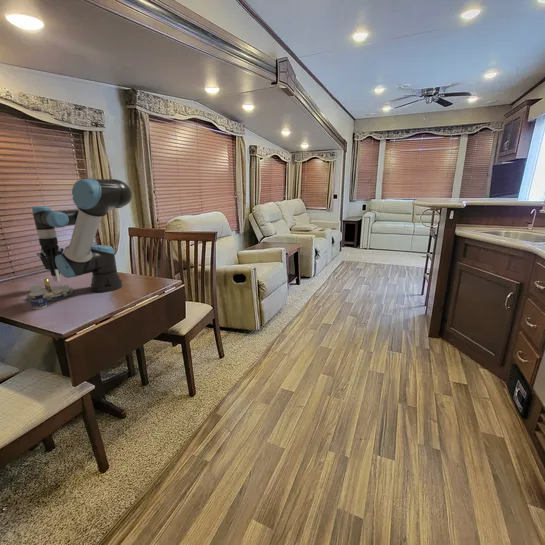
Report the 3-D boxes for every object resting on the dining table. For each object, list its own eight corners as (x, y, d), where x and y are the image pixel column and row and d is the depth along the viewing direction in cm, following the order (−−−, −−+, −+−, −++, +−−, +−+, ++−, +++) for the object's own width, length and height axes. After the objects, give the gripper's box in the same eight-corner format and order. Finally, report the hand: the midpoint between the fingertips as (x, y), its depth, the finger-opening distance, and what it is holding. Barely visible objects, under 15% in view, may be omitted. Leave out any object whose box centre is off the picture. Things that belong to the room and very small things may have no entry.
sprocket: (81, 289, 153) (79, 277, 151) (48, 302, 136) (45, 289, 134) (53, 286, 158) (51, 274, 156) (18, 299, 141) (14, 286, 139)
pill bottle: (31, 310, 130) (25, 289, 127) (34, 306, 134) (29, 286, 132) (45, 308, 132) (40, 288, 129) (49, 304, 136) (44, 284, 134)
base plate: (81, 290, 153) (81, 290, 153) (48, 303, 137) (48, 303, 137) (54, 288, 158) (53, 287, 157) (19, 300, 141) (18, 299, 141)
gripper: (53, 234, 156) (62, 276, 163) (28, 239, 144) (39, 284, 150) (65, 235, 154) (73, 278, 161) (40, 239, 142) (51, 285, 149)
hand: (57, 281), depth 156 cm, fingers closed
